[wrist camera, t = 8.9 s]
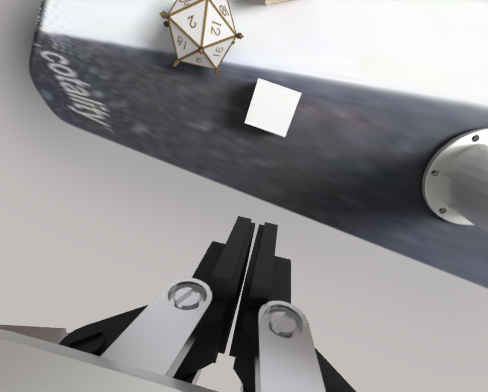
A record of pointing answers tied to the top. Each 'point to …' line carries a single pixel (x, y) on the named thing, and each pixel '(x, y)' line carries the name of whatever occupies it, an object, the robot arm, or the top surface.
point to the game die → (201, 31)
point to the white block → (272, 107)
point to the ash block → (274, 1)
